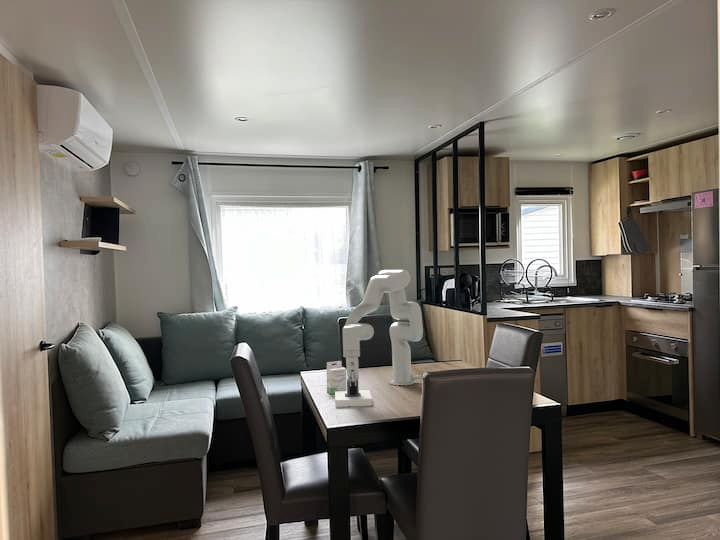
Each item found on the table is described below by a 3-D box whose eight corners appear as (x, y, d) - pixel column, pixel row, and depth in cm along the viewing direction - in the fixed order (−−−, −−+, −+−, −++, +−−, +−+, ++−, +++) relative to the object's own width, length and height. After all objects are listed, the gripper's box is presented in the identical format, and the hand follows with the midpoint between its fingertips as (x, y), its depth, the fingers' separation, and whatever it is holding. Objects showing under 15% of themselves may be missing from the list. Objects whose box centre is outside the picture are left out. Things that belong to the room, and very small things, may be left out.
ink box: (330, 394, 245) (329, 363, 245) (326, 392, 249) (325, 362, 249) (347, 392, 249) (346, 361, 249) (342, 390, 253) (341, 360, 253)
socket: (369, 396, 239) (369, 389, 239) (372, 405, 223) (371, 398, 223) (335, 397, 238) (334, 391, 238) (335, 407, 222) (335, 400, 222)
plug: (358, 395, 233) (357, 374, 233) (358, 398, 228) (358, 377, 228) (347, 396, 233) (346, 375, 233) (347, 399, 228) (346, 377, 228)
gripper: (361, 355, 222) (362, 397, 222) (358, 349, 239) (360, 388, 239) (343, 356, 222) (345, 398, 222) (342, 350, 238) (344, 389, 239)
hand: (352, 392), depth 230 cm, fingers closed on plug, 4 cm apart
